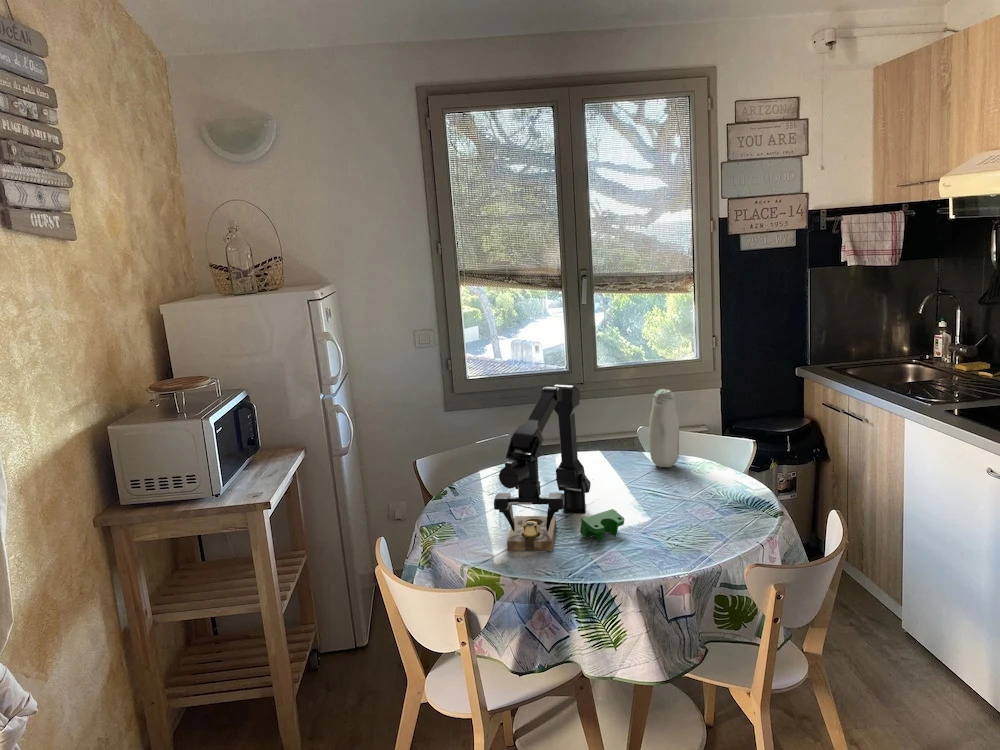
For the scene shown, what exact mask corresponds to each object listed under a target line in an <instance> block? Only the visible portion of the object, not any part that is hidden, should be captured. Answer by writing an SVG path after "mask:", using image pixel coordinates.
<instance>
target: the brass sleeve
mask: <svg viewBox="0 0 1000 750" xmlns="http://www.w3.org/2000/svg"><path fill="white" fill-rule="evenodd" d="M523 534H524V537H525V538H536V537H538V523H537V522H534V521H527V522H525V523H523Z"/></svg>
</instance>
